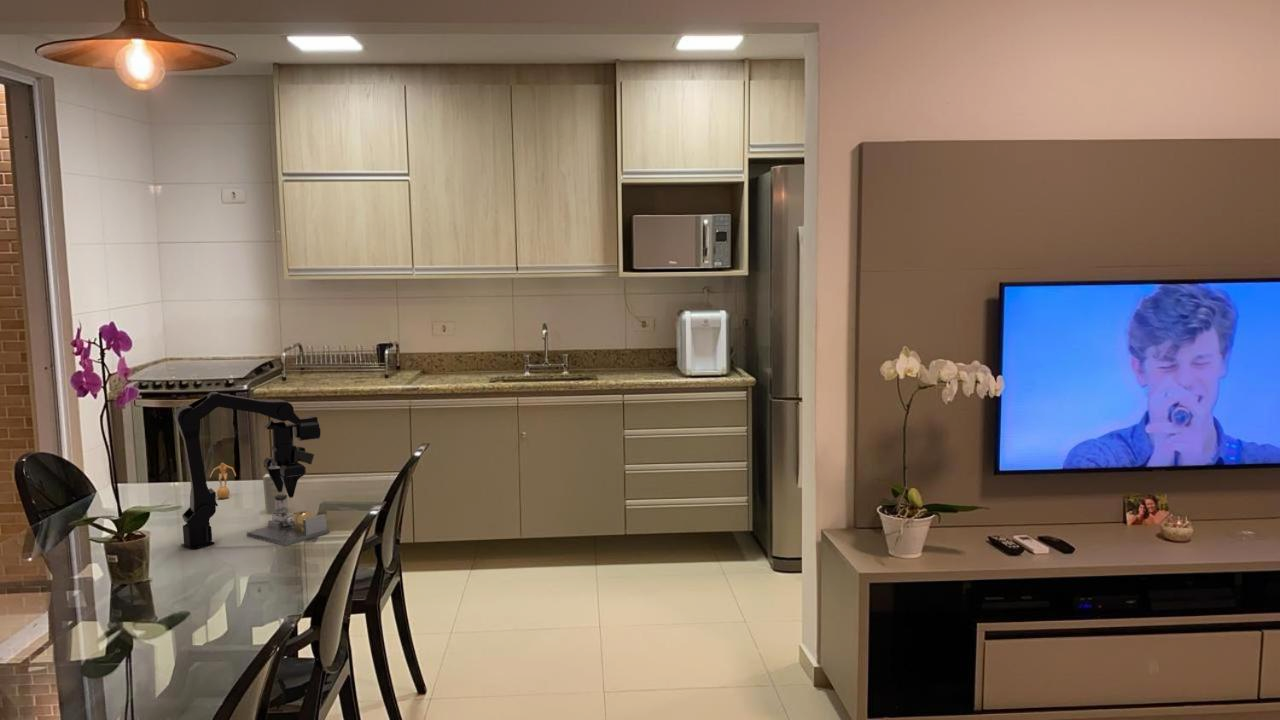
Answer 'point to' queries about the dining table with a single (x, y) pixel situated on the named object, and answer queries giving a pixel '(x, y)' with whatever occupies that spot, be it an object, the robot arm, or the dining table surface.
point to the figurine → (224, 491)
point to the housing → (301, 519)
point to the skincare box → (271, 494)
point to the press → (291, 531)
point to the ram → (282, 511)
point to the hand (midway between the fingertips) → (285, 494)
